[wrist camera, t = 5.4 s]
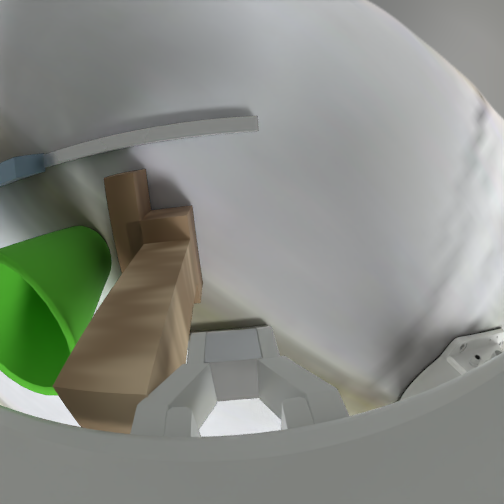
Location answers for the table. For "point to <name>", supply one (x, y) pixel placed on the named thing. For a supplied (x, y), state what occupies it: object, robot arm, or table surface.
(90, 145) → the track
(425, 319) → the table surface
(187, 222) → the stepped wooden block
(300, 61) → the table surface
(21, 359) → the cup
